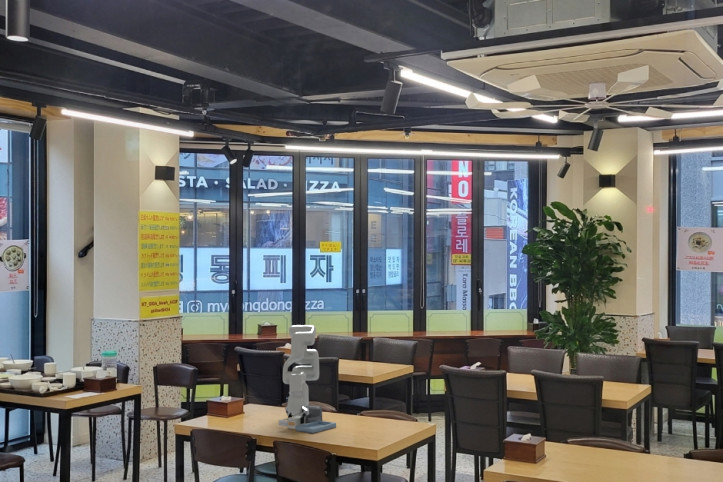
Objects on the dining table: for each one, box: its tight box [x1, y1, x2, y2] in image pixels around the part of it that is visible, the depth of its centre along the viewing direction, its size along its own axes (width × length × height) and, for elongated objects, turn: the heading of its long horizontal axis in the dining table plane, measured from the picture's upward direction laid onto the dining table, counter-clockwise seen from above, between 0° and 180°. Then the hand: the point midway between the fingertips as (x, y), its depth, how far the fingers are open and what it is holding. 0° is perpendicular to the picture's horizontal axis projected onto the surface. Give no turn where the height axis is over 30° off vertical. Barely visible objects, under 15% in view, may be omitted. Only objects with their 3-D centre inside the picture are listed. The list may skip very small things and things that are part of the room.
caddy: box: [278, 416, 306, 430], centre depth 480 cm, size 16×6×6 cm, turn 143°
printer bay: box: [305, 404, 323, 424], centre depth 493 cm, size 12×10×10 cm
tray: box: [295, 420, 337, 434], centre depth 477 cm, size 21×13×2 cm, turn 143°
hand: (296, 422), depth 482 cm, fingers open, 9 cm apart
